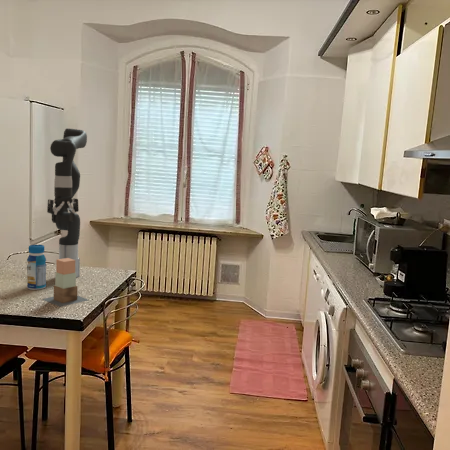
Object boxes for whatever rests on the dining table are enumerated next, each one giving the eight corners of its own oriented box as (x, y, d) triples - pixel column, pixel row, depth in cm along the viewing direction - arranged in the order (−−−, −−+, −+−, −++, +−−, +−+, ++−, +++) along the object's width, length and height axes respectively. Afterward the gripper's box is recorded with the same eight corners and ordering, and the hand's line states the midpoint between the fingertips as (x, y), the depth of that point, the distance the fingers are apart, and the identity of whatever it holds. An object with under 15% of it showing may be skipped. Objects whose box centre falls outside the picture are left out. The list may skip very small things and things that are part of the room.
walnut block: (68, 296, 204) (68, 282, 204) (77, 299, 200) (77, 286, 199) (53, 299, 199) (53, 285, 198) (62, 303, 195) (63, 289, 194)
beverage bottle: (45, 290, 213) (45, 247, 210) (25, 290, 210) (25, 247, 208) (47, 285, 221) (47, 244, 218) (28, 285, 218) (27, 244, 216)
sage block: (67, 283, 203) (67, 270, 202) (75, 286, 199) (75, 272, 198) (55, 285, 198) (55, 272, 197) (63, 288, 195) (63, 274, 194)
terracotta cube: (67, 270, 202) (67, 257, 201) (75, 272, 198) (75, 260, 198) (56, 272, 198) (56, 259, 197) (63, 274, 194) (63, 261, 193)
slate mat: (70, 293, 209) (70, 292, 209) (89, 300, 201) (89, 299, 201) (41, 300, 198) (41, 299, 198) (60, 307, 190) (60, 306, 190)
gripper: (72, 185, 214) (72, 220, 216) (44, 185, 203) (44, 222, 205) (82, 186, 210) (81, 222, 212) (53, 187, 198) (53, 224, 201)
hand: (63, 222), depth 209 cm, fingers open, 8 cm apart
